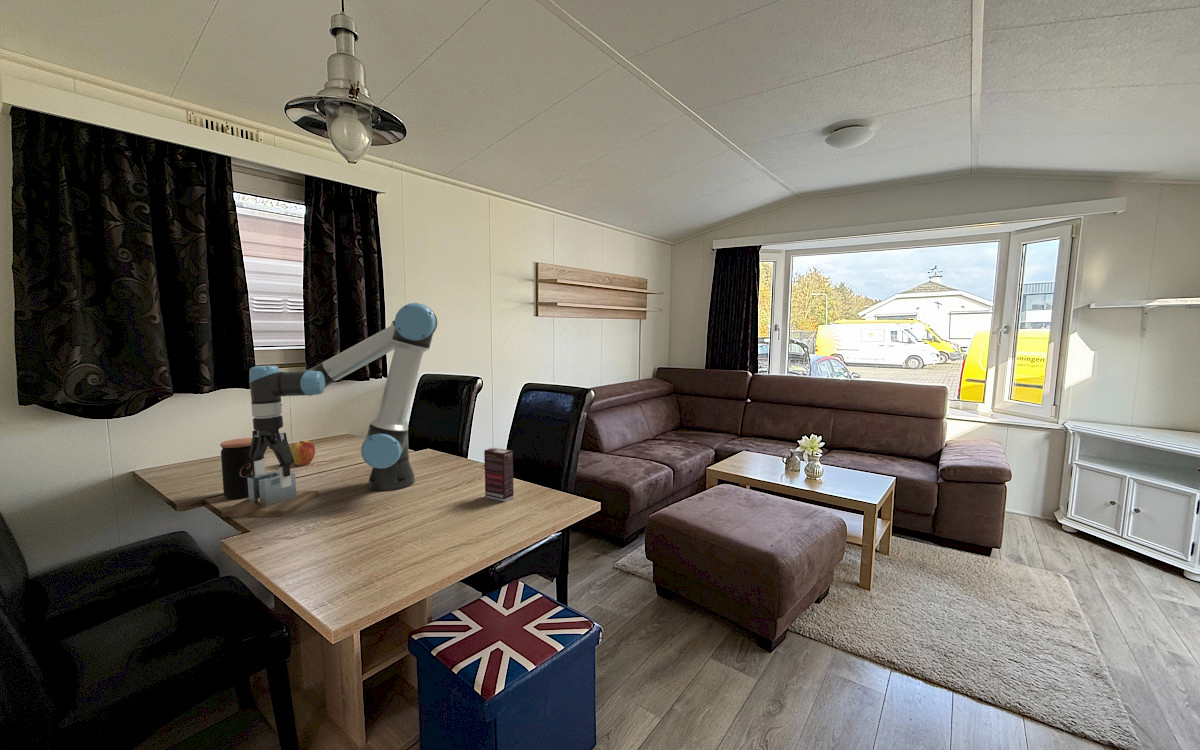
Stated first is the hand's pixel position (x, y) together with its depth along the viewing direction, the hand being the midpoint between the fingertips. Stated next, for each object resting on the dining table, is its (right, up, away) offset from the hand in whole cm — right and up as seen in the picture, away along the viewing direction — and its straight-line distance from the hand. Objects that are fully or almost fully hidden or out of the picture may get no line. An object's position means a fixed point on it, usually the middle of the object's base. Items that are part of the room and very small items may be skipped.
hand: (273, 483), depth 148 cm
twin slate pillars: (0, -5, 0) cm, 5 cm away
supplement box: (+69, -7, +8) cm, 70 cm away
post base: (0, -7, 0) cm, 7 cm away
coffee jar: (-17, -6, +11) cm, 21 cm away
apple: (-20, -3, +46) cm, 51 cm away
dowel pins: (0, -5, 0) cm, 5 cm away
